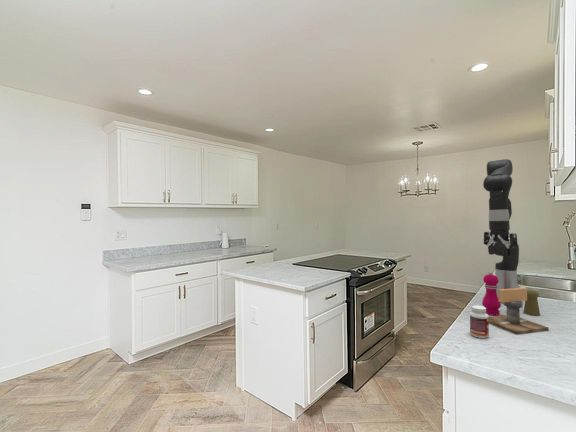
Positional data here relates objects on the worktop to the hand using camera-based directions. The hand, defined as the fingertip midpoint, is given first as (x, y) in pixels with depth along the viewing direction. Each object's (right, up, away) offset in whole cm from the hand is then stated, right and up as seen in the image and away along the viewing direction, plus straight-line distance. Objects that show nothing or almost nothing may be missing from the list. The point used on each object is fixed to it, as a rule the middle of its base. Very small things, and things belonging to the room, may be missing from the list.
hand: (500, 255), depth 133 cm
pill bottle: (-21, -29, -18) cm, 40 cm away
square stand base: (-1, -28, -8) cm, 30 cm away
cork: (+18, -28, +5) cm, 34 cm away
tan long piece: (-1, -20, -8) cm, 22 cm away
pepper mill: (0, -28, +6) cm, 29 cm away
